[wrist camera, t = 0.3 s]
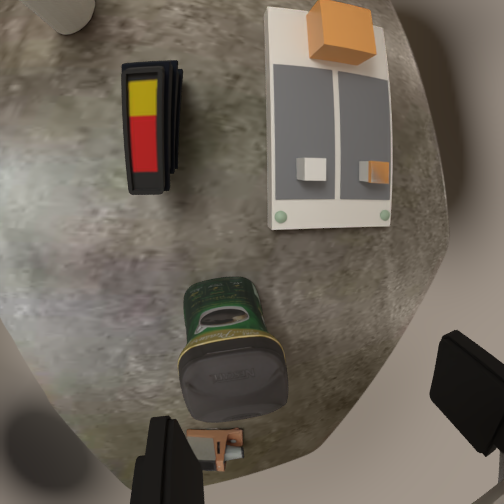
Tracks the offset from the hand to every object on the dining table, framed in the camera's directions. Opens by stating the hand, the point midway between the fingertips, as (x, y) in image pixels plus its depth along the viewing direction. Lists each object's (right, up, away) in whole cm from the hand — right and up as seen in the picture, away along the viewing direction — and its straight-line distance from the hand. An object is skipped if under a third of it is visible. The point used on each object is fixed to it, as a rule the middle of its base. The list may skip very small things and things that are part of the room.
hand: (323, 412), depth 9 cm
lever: (+4, +15, +25) cm, 29 cm away
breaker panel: (+7, +22, +26) cm, 35 cm away
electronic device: (-9, -27, +38) cm, 47 cm away
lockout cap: (+8, +31, +21) cm, 38 cm away
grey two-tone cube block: (+12, +15, +26) cm, 32 cm away
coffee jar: (-6, -2, +31) cm, 32 cm away
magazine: (-12, +19, +24) cm, 33 cm away
